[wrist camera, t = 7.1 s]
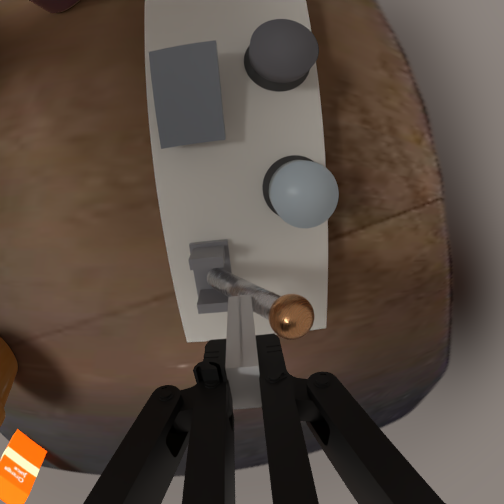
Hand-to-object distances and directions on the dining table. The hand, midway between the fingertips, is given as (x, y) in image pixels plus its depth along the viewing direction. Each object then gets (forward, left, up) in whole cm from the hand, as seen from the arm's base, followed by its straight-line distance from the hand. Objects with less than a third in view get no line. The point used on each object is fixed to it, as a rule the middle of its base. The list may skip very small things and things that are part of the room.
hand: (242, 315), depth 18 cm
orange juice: (-56, -42, -11) cm, 71 cm away
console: (+1, +10, -10) cm, 14 cm away
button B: (+5, +7, -5) cm, 9 cm away
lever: (-2, +1, -5) cm, 6 cm away
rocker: (-2, +14, -5) cm, 15 cm away
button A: (+4, +17, -5) cm, 18 cm away
